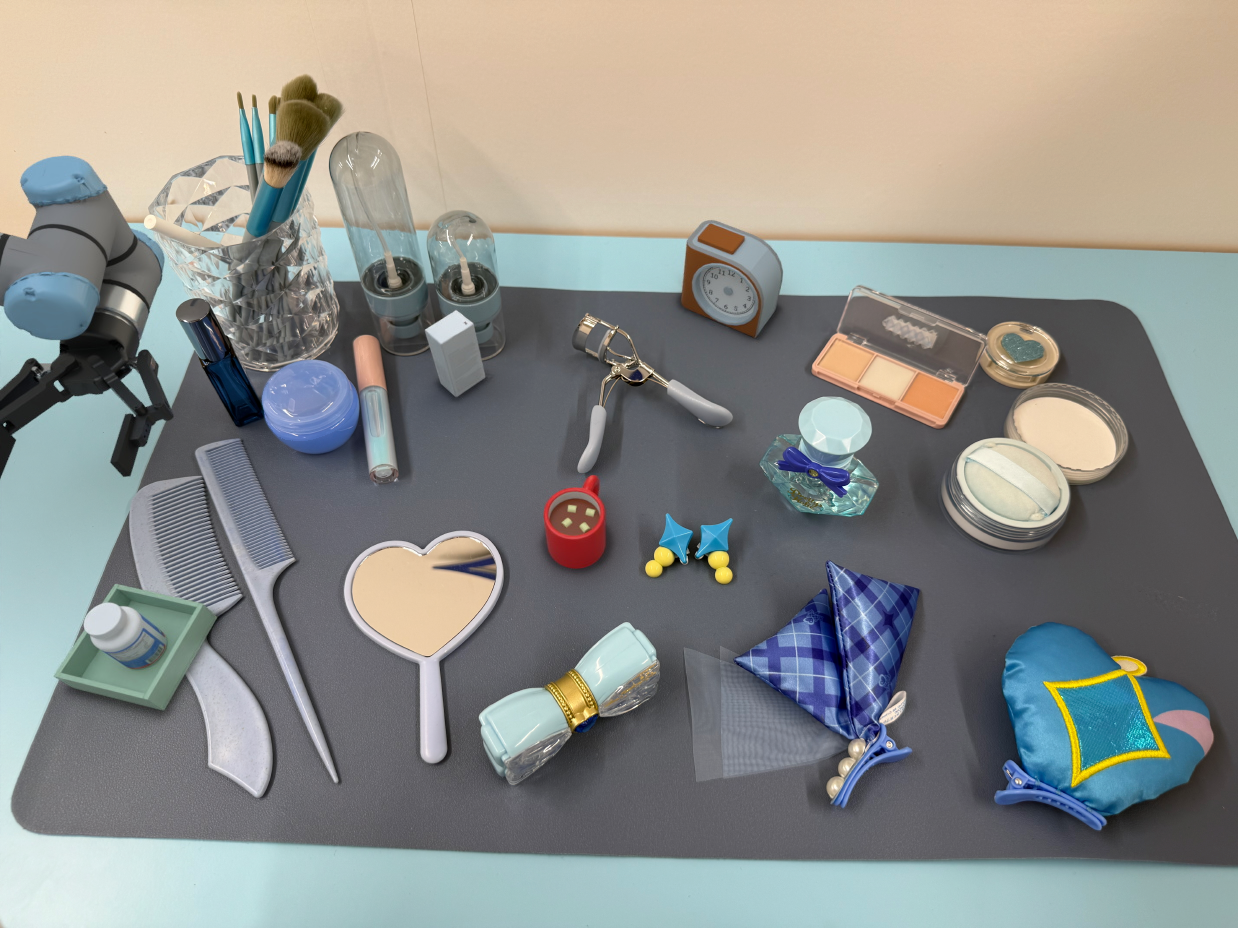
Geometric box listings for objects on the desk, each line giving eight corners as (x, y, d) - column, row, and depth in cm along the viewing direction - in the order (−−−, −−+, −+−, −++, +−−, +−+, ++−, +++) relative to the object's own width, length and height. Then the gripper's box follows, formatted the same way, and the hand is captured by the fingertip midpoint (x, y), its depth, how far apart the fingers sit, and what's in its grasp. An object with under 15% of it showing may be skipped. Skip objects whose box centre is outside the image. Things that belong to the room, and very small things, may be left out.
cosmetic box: (469, 364, 123) (457, 308, 113) (486, 378, 122) (475, 323, 112) (438, 384, 121) (423, 329, 111) (455, 399, 119) (441, 344, 109)
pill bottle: (121, 637, 96) (77, 603, 88) (167, 623, 97) (127, 589, 89) (121, 677, 93) (75, 646, 85) (168, 662, 94) (127, 631, 86)
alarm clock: (675, 306, 131) (681, 241, 120) (699, 277, 135) (707, 212, 124) (754, 339, 127) (767, 275, 116) (776, 308, 131) (791, 244, 120)
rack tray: (73, 687, 93) (52, 676, 89) (131, 597, 100) (115, 583, 96) (164, 710, 91) (147, 699, 88) (217, 617, 98) (203, 603, 95)
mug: (621, 501, 108) (621, 470, 102) (595, 575, 102) (594, 546, 95) (568, 488, 110) (565, 456, 103) (539, 560, 103) (534, 530, 97)
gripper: (224, 344, 97) (191, 484, 85) (15, 361, 95) (-49, 506, 83) (198, 300, 91) (159, 443, 79) (-26, 316, 89) (-101, 466, 77)
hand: (52, 475), depth 81 cm, fingers open, 13 cm apart
